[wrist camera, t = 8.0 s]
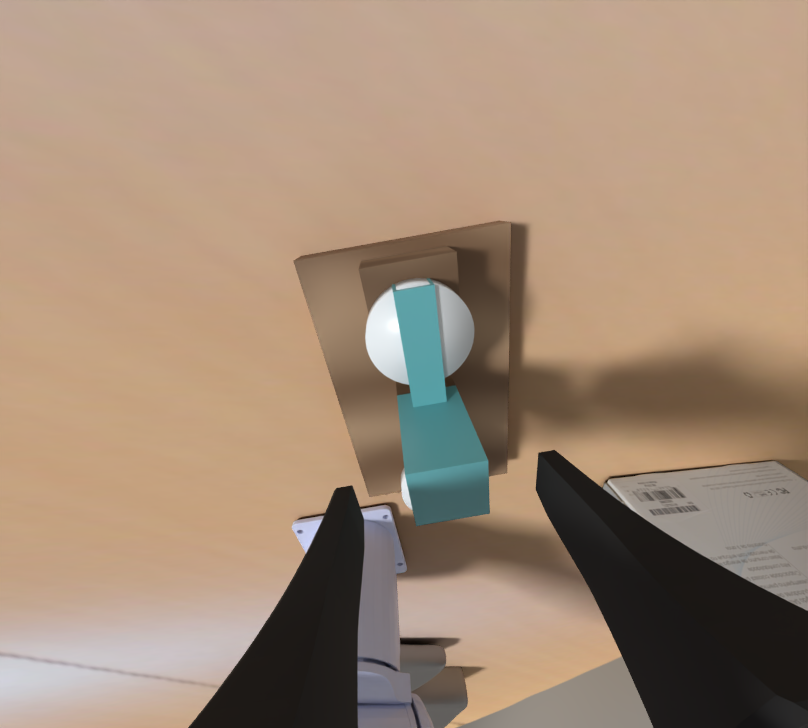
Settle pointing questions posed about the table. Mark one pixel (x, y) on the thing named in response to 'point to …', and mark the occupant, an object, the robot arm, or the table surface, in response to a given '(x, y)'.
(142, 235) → the table surface
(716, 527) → the hard drive box
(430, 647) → the emblem
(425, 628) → the table surface
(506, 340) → the display stand
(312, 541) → the robot arm
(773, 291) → the table surface
